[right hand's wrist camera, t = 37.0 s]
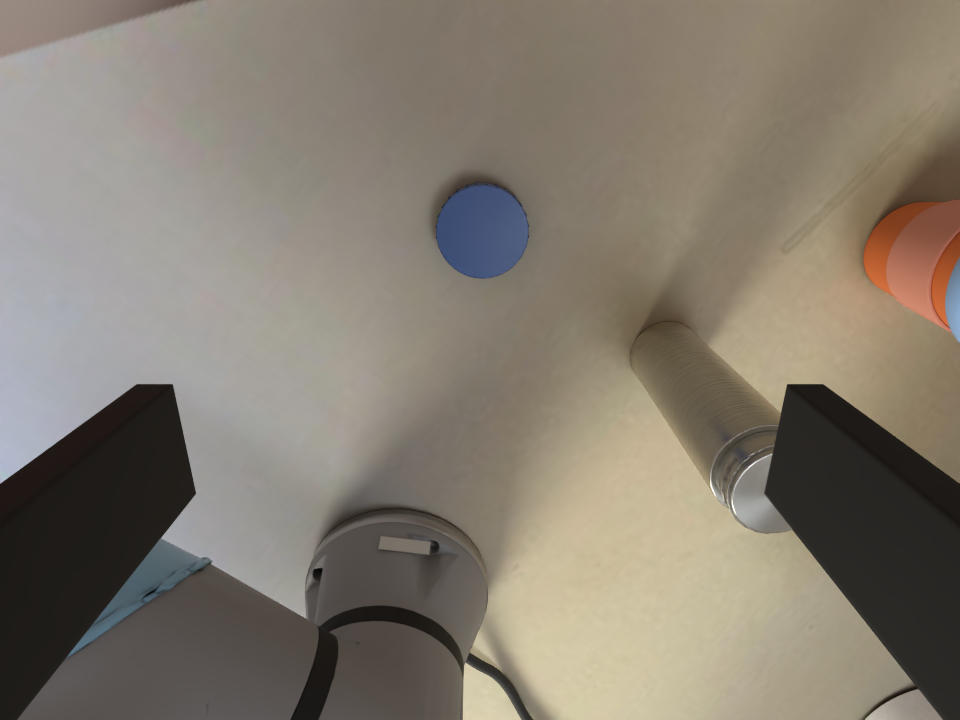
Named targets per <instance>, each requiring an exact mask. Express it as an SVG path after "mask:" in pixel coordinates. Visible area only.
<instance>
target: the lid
mask: <svg viewBox="0 0 960 720" xmlns="http://www.w3.org/2000/svg"><path fill="white" fill-rule="evenodd" d="M522 207H523V206H522V204H521V203H519V202H518V201H517V199H516V196H515V195H512V194H511V193H510V192H508V190H507V189H504V188H502V187H500V186H498V184H496V185H494V184H490V183H488V182H486V183H478V182H476V183H475V184H470V185H467V184H466V186H465V187H463V188H461V189H459V190H458V189H457V190H456V192H455V193H454V194H453V195H452V196H449V197H448V200H447V202H446V203H445V204H443V206H442V208H443V209H442V211H441V213H439V215H438V217H437V218H438V222H437V225H436V228H437V229H436V234H437V236H436V239H437V242H438V246H439V249H440V251H441V253H442V255H443V257H444V258H445V260H446V261H447V262H448V263H449V264H450V265H451V266H452V267H453V268H454V269H456V270H457V271H458V272H460V273H462V274H464V275H467V276H470V277H474V278H491V277H495V276H498V275H500V274H503V273H505V272H506V271H508V270H509V269H511V268H512V267H513V266H514V265H515V264H516V263H517V262H518V261H519V259H520V258H521V257H522V254H523V253H524V250H525V248H526V245H527V241H528V238H529V235H528V227H529V225H528V222H527V218H526V217H527V215H526V213H525V212H524V211H523V209H522Z"/></svg>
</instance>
